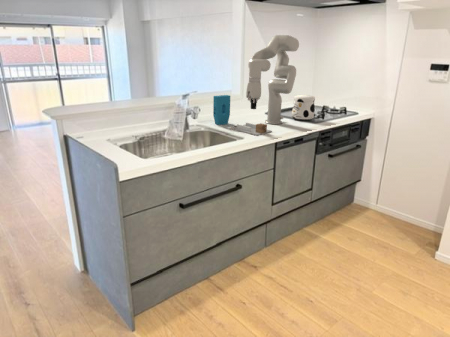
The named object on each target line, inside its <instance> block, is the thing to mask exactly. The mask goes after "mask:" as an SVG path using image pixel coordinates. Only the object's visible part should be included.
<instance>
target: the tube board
mask: <svg viewBox="0 0 450 337" xmlns="http://www.w3.org/2000/svg"><path fill="white" fill-rule="evenodd" d="M229 130H233V131H236V132H240V133H245V134H249V135H253V136H256V137H257V136H261V135H265V134H268V133H269V134H270V133H272V132H273V130H270V129H267V131H266V132H265V133H258V132H256V123H250V122H245V124H239V123H238V124H236V125H234V126H232V127H231V126H230V127H229Z"/></svg>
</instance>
